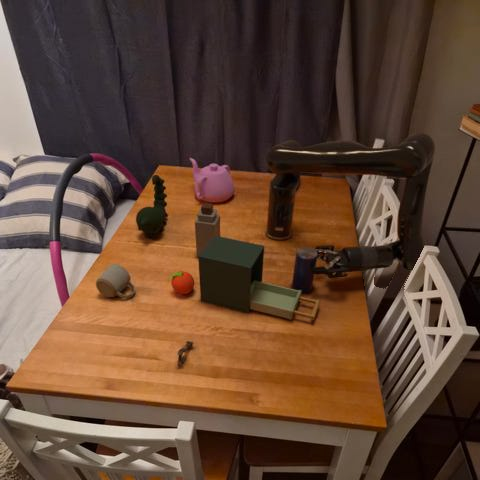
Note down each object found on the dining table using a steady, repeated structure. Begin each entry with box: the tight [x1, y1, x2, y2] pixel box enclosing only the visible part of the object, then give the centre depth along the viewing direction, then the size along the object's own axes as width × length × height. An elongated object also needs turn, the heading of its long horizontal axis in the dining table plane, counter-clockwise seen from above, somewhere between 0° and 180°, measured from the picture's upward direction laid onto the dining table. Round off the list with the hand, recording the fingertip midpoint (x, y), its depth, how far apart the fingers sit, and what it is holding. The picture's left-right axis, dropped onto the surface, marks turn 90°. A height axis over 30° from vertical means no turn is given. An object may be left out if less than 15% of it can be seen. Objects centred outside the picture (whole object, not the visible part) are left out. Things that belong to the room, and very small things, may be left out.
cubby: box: [197, 235, 265, 314], centre depth 119 cm, size 15×12×16 cm
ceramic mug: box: [95, 263, 136, 299], centre depth 121 cm, size 11×8×8 cm
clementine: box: [167, 270, 195, 295], centre depth 122 cm, size 8×7×7 cm
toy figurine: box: [135, 174, 169, 240], centre depth 147 cm, size 9×19×25 cm
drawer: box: [250, 280, 321, 321], centre depth 118 cm, size 21×10×3 cm, turn 70°
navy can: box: [291, 246, 318, 295], centre depth 123 cm, size 6×6×13 cm
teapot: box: [189, 157, 235, 204], centre depth 171 cm, size 22×22×14 cm
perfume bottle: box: [194, 202, 221, 259], centre depth 135 cm, size 7×7×18 cm
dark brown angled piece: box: [176, 340, 194, 367], centre depth 103 cm, size 2×8×4 cm, turn 165°
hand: (307, 262), depth 122 cm, fingers open, 8 cm apart
